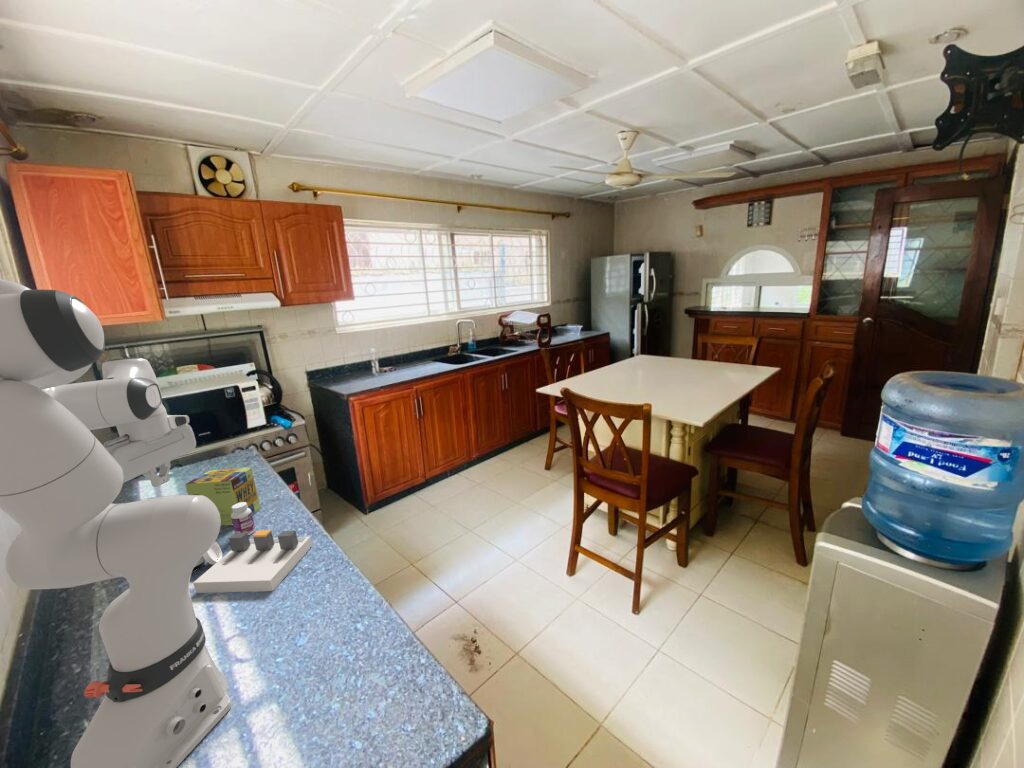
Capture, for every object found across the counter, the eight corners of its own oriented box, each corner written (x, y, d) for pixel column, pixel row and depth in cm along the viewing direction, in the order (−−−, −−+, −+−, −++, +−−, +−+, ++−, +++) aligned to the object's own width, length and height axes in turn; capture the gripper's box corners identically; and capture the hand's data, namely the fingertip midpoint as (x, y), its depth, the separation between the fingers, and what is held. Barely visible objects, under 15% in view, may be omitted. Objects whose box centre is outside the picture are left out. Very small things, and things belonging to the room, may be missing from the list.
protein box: (242, 524, 132) (231, 480, 129) (196, 527, 133) (183, 484, 129) (262, 508, 142) (252, 466, 139) (219, 510, 143) (208, 469, 140)
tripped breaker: (269, 549, 111) (265, 535, 110) (256, 550, 111) (252, 535, 110) (274, 544, 113) (271, 529, 112) (262, 544, 114) (258, 530, 113)
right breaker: (293, 548, 110) (290, 535, 110) (280, 549, 111) (277, 536, 110) (298, 543, 113) (295, 530, 112) (286, 544, 113) (283, 531, 112)
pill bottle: (246, 538, 124) (238, 510, 122) (231, 537, 125) (224, 509, 123) (260, 528, 129) (253, 500, 127) (246, 527, 130) (239, 500, 128)
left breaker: (244, 550, 111) (241, 537, 111) (232, 551, 112) (228, 538, 111) (250, 545, 114) (247, 532, 113) (238, 545, 114) (235, 533, 113)
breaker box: (272, 590, 100) (270, 579, 99) (196, 593, 101) (192, 582, 100) (312, 545, 117) (310, 536, 116) (246, 548, 119) (244, 538, 118)
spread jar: (168, 567, 113) (156, 529, 110) (217, 547, 121) (207, 511, 118) (176, 586, 104) (163, 546, 102) (227, 563, 112) (217, 525, 110)
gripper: (111, 444, 83) (130, 506, 86) (194, 414, 102) (207, 465, 105) (82, 445, 83) (103, 507, 86) (170, 415, 103) (184, 466, 106)
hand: (161, 483), depth 96 cm, fingers closed
